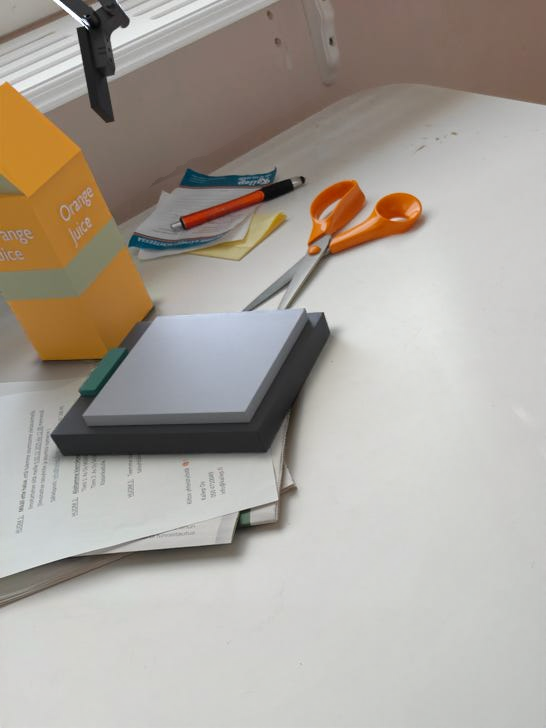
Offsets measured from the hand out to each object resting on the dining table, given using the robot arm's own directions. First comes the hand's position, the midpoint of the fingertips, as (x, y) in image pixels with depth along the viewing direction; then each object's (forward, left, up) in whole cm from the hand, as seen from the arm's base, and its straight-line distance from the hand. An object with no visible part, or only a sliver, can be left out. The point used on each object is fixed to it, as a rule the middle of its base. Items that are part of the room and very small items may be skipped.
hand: (27, 132), depth 81 cm
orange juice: (+1, -6, -16) cm, 17 cm away
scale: (+16, -16, -16) cm, 27 cm away
